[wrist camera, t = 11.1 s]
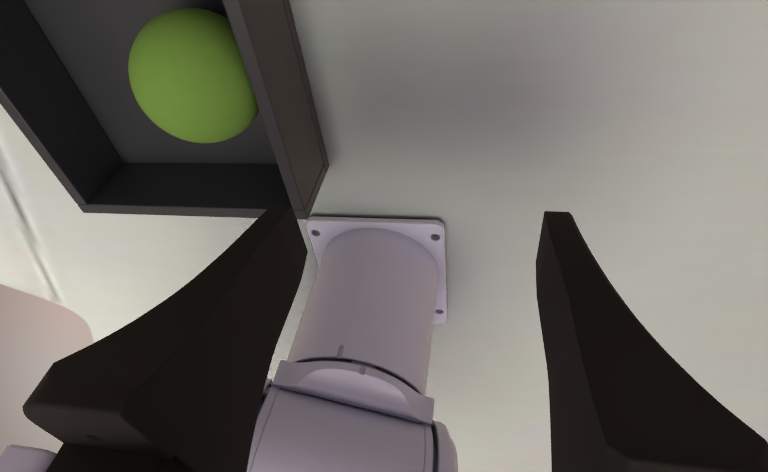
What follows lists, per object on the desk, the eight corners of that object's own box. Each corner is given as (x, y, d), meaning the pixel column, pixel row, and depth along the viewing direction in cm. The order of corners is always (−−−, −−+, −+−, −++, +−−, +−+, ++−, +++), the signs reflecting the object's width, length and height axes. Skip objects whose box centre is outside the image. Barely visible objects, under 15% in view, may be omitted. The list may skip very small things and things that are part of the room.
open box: (329, 166, 25) (308, 220, 22) (126, 164, 27) (83, 213, 24) (228, -248, 14) (160, -248, 11) (-93, -190, 16) (-215, -177, 14)
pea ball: (206, 59, 22) (296, 104, 21) (133, 134, 20) (229, 186, 19) (168, -41, 18) (281, 10, 17) (69, 43, 16) (191, 106, 15)
